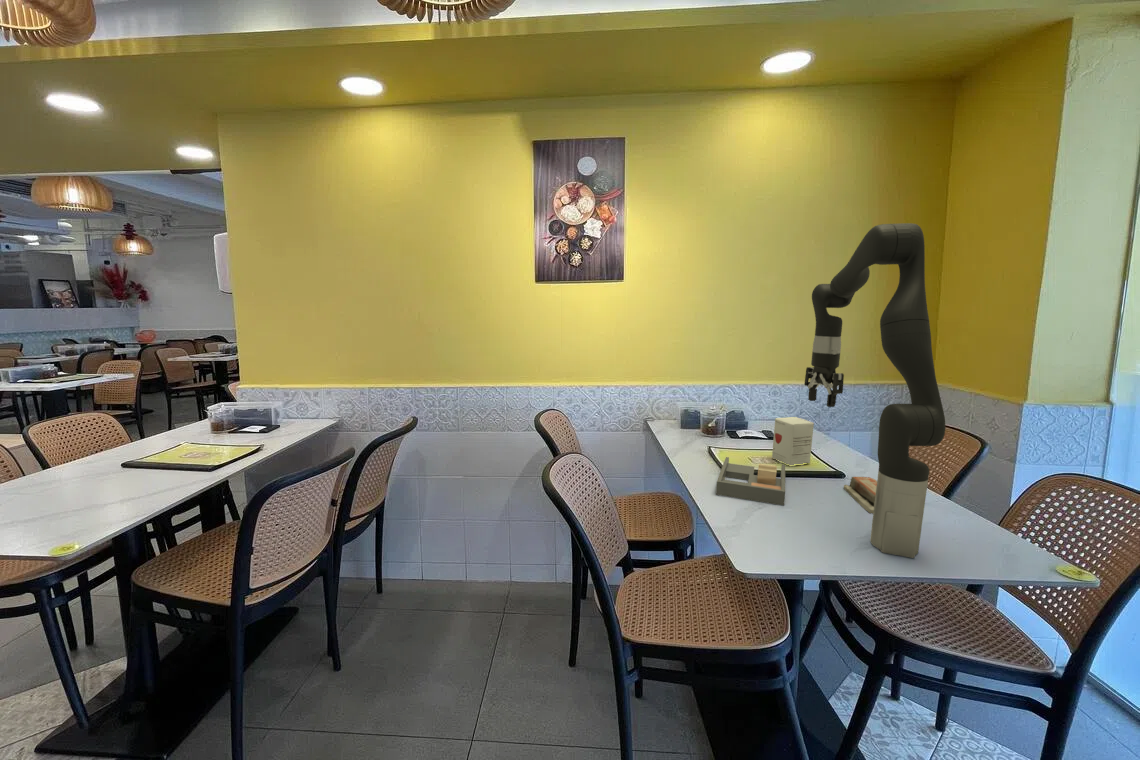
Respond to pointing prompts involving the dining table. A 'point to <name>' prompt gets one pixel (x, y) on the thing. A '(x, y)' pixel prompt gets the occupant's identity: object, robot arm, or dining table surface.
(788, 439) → the supplement box
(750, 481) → the box
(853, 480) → the packaged product
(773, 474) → the block
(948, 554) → the dining table surface
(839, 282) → the robot arm
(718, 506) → the dining table surface
